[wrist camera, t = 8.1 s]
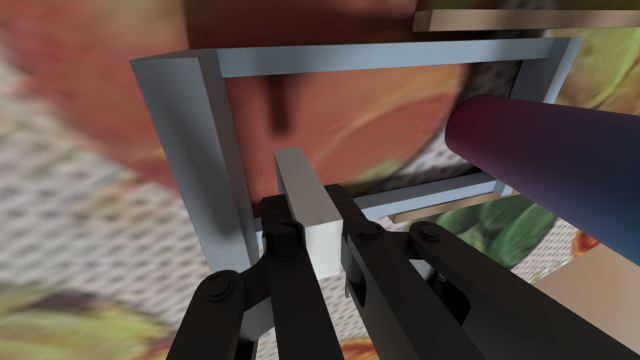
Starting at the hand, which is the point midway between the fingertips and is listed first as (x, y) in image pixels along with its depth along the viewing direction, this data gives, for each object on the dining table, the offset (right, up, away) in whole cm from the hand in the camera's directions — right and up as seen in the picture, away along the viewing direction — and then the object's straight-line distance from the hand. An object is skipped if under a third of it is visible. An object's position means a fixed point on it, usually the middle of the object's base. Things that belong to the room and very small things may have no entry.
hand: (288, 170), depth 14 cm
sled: (+7, +3, +4) cm, 9 cm away
